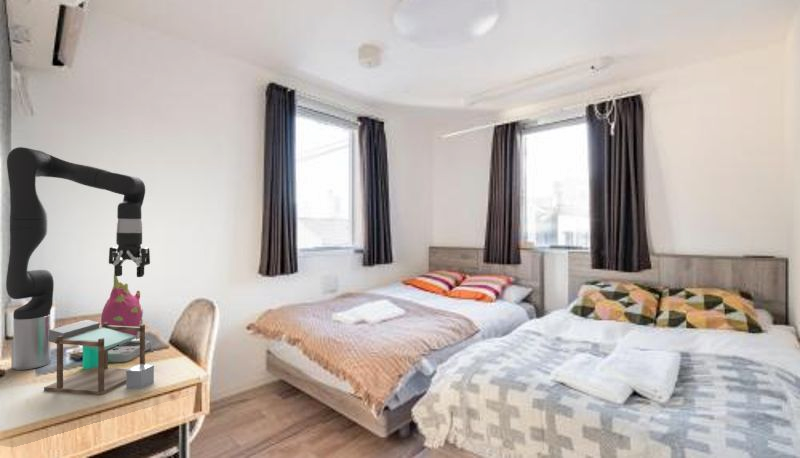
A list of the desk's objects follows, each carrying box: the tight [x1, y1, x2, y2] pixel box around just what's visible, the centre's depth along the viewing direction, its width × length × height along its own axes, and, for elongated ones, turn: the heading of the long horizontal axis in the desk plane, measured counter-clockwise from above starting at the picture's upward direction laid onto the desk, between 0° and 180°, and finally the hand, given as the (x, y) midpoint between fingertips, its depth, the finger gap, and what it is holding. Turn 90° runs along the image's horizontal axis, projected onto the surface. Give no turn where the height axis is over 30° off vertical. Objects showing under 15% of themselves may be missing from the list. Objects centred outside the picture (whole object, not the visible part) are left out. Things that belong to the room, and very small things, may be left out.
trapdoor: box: [48, 319, 136, 350], centre depth 118 cm, size 19×12×4 cm, turn 83°
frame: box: [43, 322, 146, 396], centre depth 118 cm, size 19×16×16 cm
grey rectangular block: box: [125, 363, 155, 390], centre depth 117 cm, size 5×5×6 cm
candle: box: [82, 346, 98, 370], centre depth 131 cm, size 6×6×12 cm
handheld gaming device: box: [108, 340, 152, 363], centre depth 141 cm, size 9×15×4 cm, turn 6°
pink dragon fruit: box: [100, 273, 144, 345], centre depth 152 cm, size 18×14×30 cm
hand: (129, 276), depth 134 cm, fingers open, 8 cm apart
